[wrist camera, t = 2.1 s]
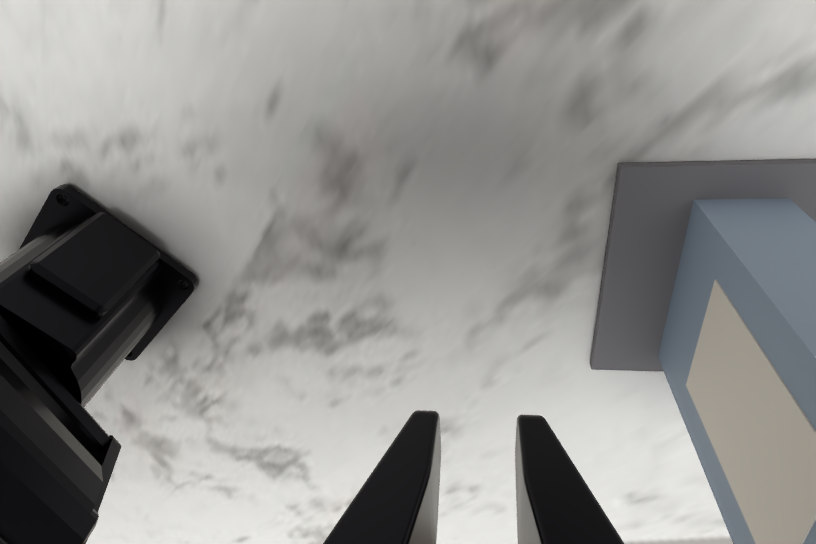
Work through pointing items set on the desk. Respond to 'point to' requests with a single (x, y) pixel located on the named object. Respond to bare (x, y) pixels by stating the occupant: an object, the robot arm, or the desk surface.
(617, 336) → the mat
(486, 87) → the desk surface
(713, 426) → the card box
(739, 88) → the desk surface
